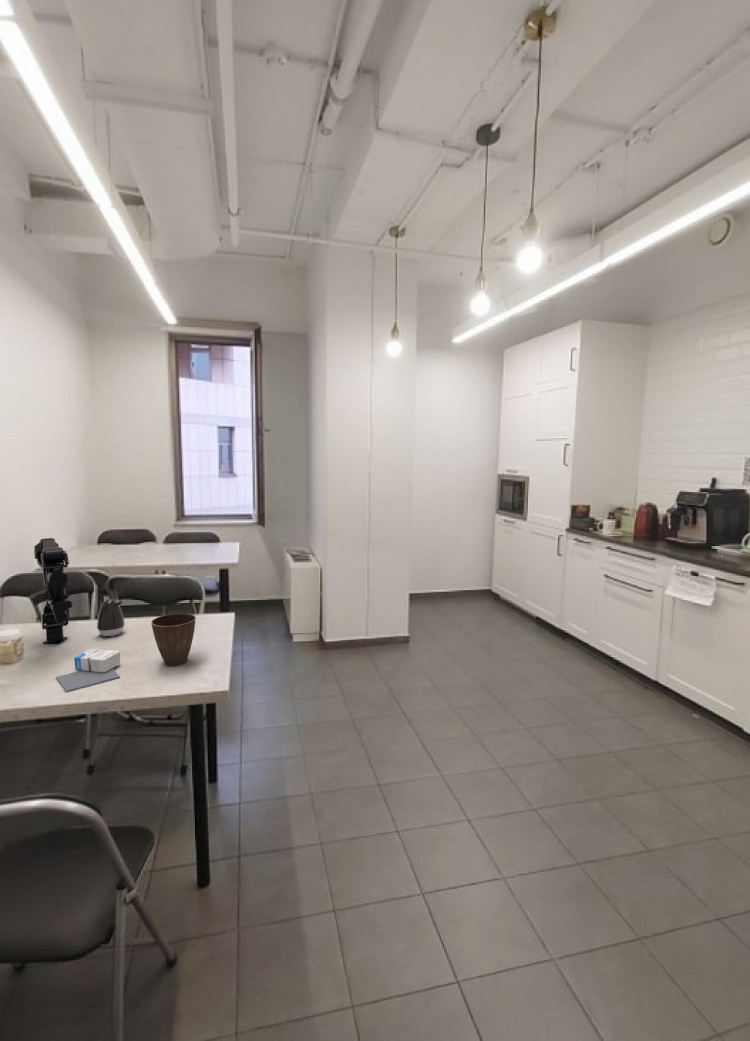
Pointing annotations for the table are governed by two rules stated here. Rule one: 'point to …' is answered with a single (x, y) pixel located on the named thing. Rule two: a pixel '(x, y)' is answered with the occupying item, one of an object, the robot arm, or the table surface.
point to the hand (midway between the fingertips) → (58, 622)
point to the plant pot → (174, 637)
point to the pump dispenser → (110, 618)
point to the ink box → (97, 660)
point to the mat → (85, 679)
